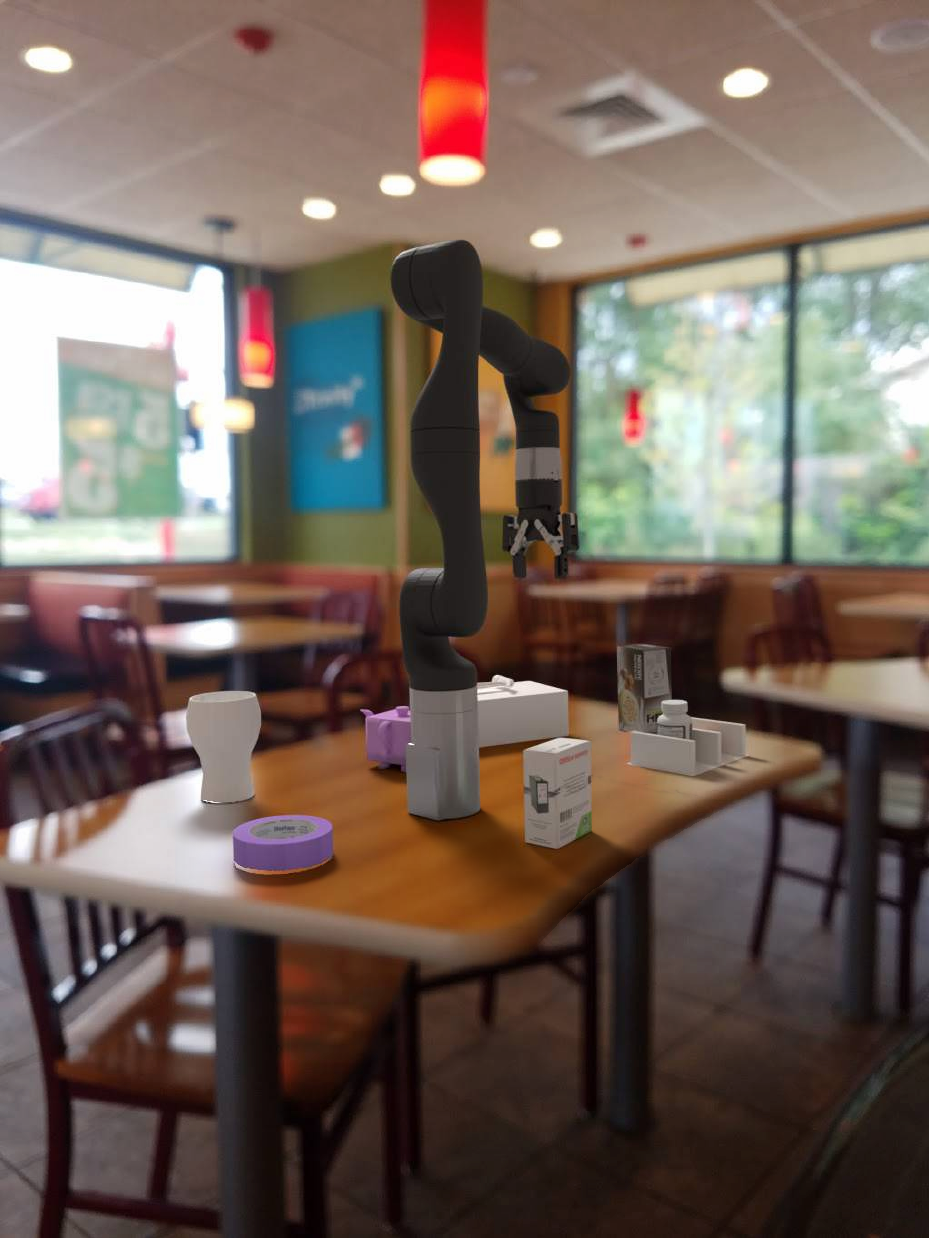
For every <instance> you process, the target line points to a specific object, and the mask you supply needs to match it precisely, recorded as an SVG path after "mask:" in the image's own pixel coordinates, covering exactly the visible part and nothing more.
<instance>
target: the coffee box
mask: <svg viewBox="0 0 929 1238" xmlns="http://www.w3.org/2000/svg"><path fill="white" fill-rule="evenodd" d="M616 658H617V659H616V662H617V664H616V665H617V702H618V703H617V710H618V712H617V713H618V715H617V716H618V730H619V731H623V732H626V733H628V732H632V731H636V732H643V733H649V734H650V733H654V732H655V733H657V720H658V717H659V716H661V715H663V712H662V709H661V703H662V701H665V700H673V699H672V647H668V646H659V645H655V644H647V643H633V644H625V645H617V646H616Z"/></svg>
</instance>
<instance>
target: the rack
mask: <svg viewBox="0 0 929 1238" xmlns="http://www.w3.org/2000/svg"><path fill="white" fill-rule="evenodd" d="M690 717H691V718H692V740H688V739H682V738H675V737H669V736H662V735H657V733H656V734H654V733H650V732H649V733H644V732H640V731H637V730H632V731H629V732H630V735H629V737H630V762H627V763H626V765H630V766H635V767H640V768H641V767H642V768H646V769H647V768H648V769H652V770H655V771H656V770H657V771H662V772H663V771H664V772H669V773H673V774H678V775H684V776H690V777H695V776H697V775H700V774H703V773H705V772H709V771H711V770H715V769H717V768H718V767H723V766H725V765H727V764H730V763H733V762H736V761H738V760H741V759H743V758H747V757H749V756H750V754H746V753H747V751H746V749H747V748H746V745H747V744H746V737H747V736H746V732H747V731H746V727H747V725H746V724H745V723H744V724H743V723H737V722H731V721H730V722H729V721H722V720H715V719H709V718H708V719H707V718H699V717H693V716H690ZM693 727H706V728H713V729H717V730H718V731H719V732H716V731H709V730H702V729H695V728H693Z"/></svg>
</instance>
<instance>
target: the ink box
mask: <svg viewBox="0 0 929 1238" xmlns="http://www.w3.org/2000/svg"><path fill="white" fill-rule="evenodd" d="M522 759H523V760H522V764H523V765H522V766H523V767H522V768H523V806H524V807H523V809H524V810H523V813H524V814H523V816H524V842H525V843H526V844H532V845H536V846H542V847H545V848H550V849H557V850H559V849H560V848H563V847H564V846H566V845H568V844H570V843H572V842H573V841H575V840H577V839H579V838H581V837H583V836H584V835H585V836H586V835H587V834H588V833H590V832H591V831H592V829H593V828H592V827H593V825H592V823H593V821H592V817H593V816H592V742H591V741H590V740H585V739H579V738H578V739H577V738H568V737H567V738H566V737H556V738H555V739H554V738H553V739H551V740H549V741H546V742H542V743H540V744H538V745H537V744H536V745H534V746H532V747H528V748H525V749H524V750H522Z"/></svg>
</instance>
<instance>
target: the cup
mask: <svg viewBox="0 0 929 1238" xmlns="http://www.w3.org/2000/svg"><path fill="white" fill-rule="evenodd" d="M185 720H186V721H185V723H186V731H187V734H188V738H189V740H190V743H191V745H192V747H193V748H194V750H195V752H196V754H197V755H198V757H199V759H200V760H199V761H200V765H201V770H202V779H201V780H202V781H201V789H200V800H201V799H202V800H207V801H213V802H232V803H237V802H236V801H238V802H242V801H246V800H249V799H251V798H253V797H254V796H255V786H254V783H253V778H252V773H251V762H252V753H253V750H254V748H255V746H256V744H257V741H258V739H259V734H260V732H261V731H260V730H261V726H262V710H261V708H260V704H259V700H258V696H257V694H256V693H255V692H253V691H252V692H251V691H246V690H245V691H244V690H243V691H242V690H224V691H222V690H221V691H212V692H204V693H200V694H195V695H193V696H191V697H189V699H188V703H187V709H186V715H185ZM202 800H201V801H202Z"/></svg>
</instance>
